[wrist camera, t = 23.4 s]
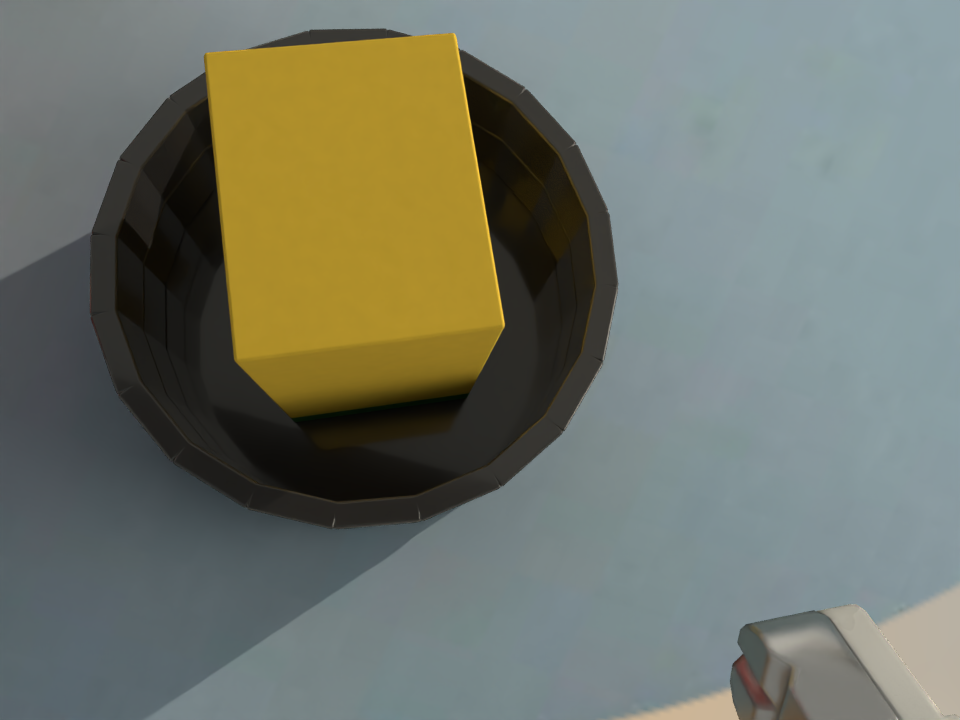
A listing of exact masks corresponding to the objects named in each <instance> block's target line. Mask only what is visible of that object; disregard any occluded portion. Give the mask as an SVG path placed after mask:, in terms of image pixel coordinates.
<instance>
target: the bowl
mask: <svg viewBox="0 0 960 720" xmlns="http://www.w3.org/2000/svg"><path fill="white" fill-rule="evenodd" d="M410 36H411V35H407V34H404V33H400V32H396V31H392V30H386V29H327V30H310V31H305V32H302V33H298V34H295V35H292V36H288V37H285V38H282V39H279V40H275V41H272V42H269V43H265V44H262V45H259V46H256V47H252V48H249V49H260V48H273V47H285V46H298V45H310V44H323V43H335V42H348V41H360V40H373V39H385V38H398V37H410ZM246 50H248V49H246ZM458 50H459V56H460V62H461V68H462V74H463V80H464V86H465V92H466V97H467V103H468V109H469V115H470V121H471V127H472V133H473V139H474V145H475V151H476V157H477V163H478V168H479V174H480V180H481V186H482V192H483V198H484V204H485V210H486V216H487V222H488V228H489V234H490V240H491V245H492V251H493V257H494V263H495V269H496V275H497V281H498V287H499V293H500V299H501V305H502V311H503V316H504V322H505V326H504V328H503V330H502V332H501V334H500V336H499V338H498V340H497V342H496V344H495V346H494V347H493V349H492V351H491V353H490V355H489V357H488V359H487V361H486V363H485V365H484V366H483V368H482V370H481V372H480V374H479V376H478V378H477V380H476V382H475V383H474V385H473V387H472V389H471V391H470V393H469V395H468V397H467V398H463V399H456V400H449V401H442V402H435V403H428V404H421V405H414V406H407V407H400V408H392V409H385V410H378V411H371V412H364V413H357V414H350V415H343V416H336V417H329V418H322V419H315V420H308V421H300V422H294V421H293V420H292V419H291V418H290V417H289V416H288V415H287V414H286V413H285V412H284V411H283V410H282V409H281V408H280V407H279V406H278V405H277V404H276V403H275V402H274V401H273V400H272V399H271V398H270V397H269V396H268V395H267V394H266V393H265V391H264V390H263V389H262V388H261V387H260V386H259V385H258V384H257V383H256V382H255V381H254V380H253V379H252V378H251V377H250V376H249V375H248V374H247V373H246V372H245V371H244V370H243V369H242V368H241V367H240V366H239V365H238V364H237V363H236V362H235V360H234V353H233V343H232V333H231V323H230V313H229V303H228V293H227V283H226V273H225V263H224V253H223V243H222V233H221V223H220V213H219V203H218V193H217V183H216V173H215V163H214V153H213V143H212V133H211V123H210V113H209V103H208V93H207V83H206V73H203V74H202V75H200V76H199V77H197V78H196V79H194V80H193V81H191V82H190V83H188V84H187V85H185V86H184V87H182V88H181V89H179V90H178V91H176V92H175V93H173V94H172V95H170V97H169V98H170V99H169V98H167V99H166V100H165V101H164V103H163V104H162V105H161V106H160V108H159V109H158V110H157V111H156V113H155V114H154V115H153V116H152V118H151V119H150V120H149V121H148V123H147V124H146V125H145V126H144V128H143V129H142V130H141V131H140V133H139V134H138V135H137V136H136V138H135V139H134V140H133V141H132V142H131V144H130V145H129V146H128V147H127V149H126V150H125V151H124V152H123V154H122V155H121V156H120V160H118V161H117V164H116V167H115V169H114V172H113V175H112V178H111V180H110V183H109V186H108V189H107V191H106V194H105V197H104V199H103V202H102V205H101V208H100V210H99V213H98V216H97V219H96V221H95V224H94V227H93V229H92V235H91V251H90V315H91V321H92V324H93V327H94V330H95V333H96V336H97V339H98V341H99V344H100V347H101V350H102V353H103V356H104V359H105V362H106V364H107V367H108V370H109V373H110V376H111V379H112V382H113V385H114V387H115V390H116V393H117V394H119V398H120V399H121V401H122V402H123V403H124V404H125V406H126V407H127V408H128V409H129V411H130V412H131V413H132V414H133V415H134V417H135V418H136V419H137V420H138V422H139V423H140V424H141V425H142V427H143V428H144V429H145V430H146V432H147V433H148V434H149V435H150V437H151V438H152V439H153V440H154V441H155V443H156V444H157V445H158V446H159V448H160V449H161V450H162V451H163V453H164V454H165V455H166V456H167V458H168V459H169V460H171V461H173V463H174V464H175V465H176V466H178V467H180V468H181V469H183V470H184V471H186V472H188V473H189V474H191V475H193V476H194V477H196V478H197V479H199V480H201V481H202V482H204V483H205V484H207V485H209V486H210V487H212V488H213V489H215V490H217V491H218V492H220V493H221V494H223V495H225V496H226V497H228V498H230V499H231V500H233V501H234V502H236V503H238V504H239V505H241V506H242V507H245V508H247V509H249V510H253V511H257V512H261V513H265V514H270V515H274V516H278V517H282V518H287V519H291V520H295V521H299V522H304V523H308V524H312V525H316V526H321V527H325V528H329V529H351V528H362V527H374V526H385V525H396V524H408V523H417V522H421V521H425V520H427V519H429V518H432V517H434V516H436V515H439V514H441V513H443V512H446V511H448V510H450V509H453V508H455V507H457V506H460V505H462V504H464V503H467V502H469V501H471V500H474V499H476V498H478V497H481V496H483V495H485V494H488V493H490V492H492V491H494V490H497V489H499V488H500V487H501V486H504V485H505V484H506V483H507V482H508V481H509V480H510V479H512V478H513V477H514V476H515V475H516V474H517V473H518V472H520V471H521V470H522V469H523V468H524V467H525V466H526V465H527V464H529V463H530V462H531V461H532V460H533V459H534V458H535V457H536V456H538V455H539V454H540V453H541V452H542V451H543V450H544V449H545V448H547V447H548V446H549V445H550V444H551V443H552V442H553V441H555V440H556V439H557V438H558V437H559V436H560V435H561V434H562V433H563V431H565V429H566V428H567V426H568V424H569V423H570V421H571V419H572V417H573V416H574V414H575V412H576V410H577V409H578V407H579V405H580V403H581V402H582V400H583V398H584V396H585V395H586V393H587V391H588V389H589V388H590V386H591V384H592V383H593V381H594V379H595V377H596V376H597V374H598V372H599V370H600V369H601V367H602V365H603V361H604V359H605V354H606V349H607V343H608V338H609V333H610V328H611V323H612V318H613V313H614V308H615V303H616V298H617V293H618V277H617V270H616V262H615V254H614V246H613V238H612V230H611V222H610V215H609V213H608V209H607V206H606V204H605V202H604V200H603V198H602V196H601V194H600V192H599V189H598V187H597V185H596V183H595V181H594V179H593V177H592V175H591V172H590V170H589V168H588V166H587V164H586V162H585V160H584V158H583V155H582V153H581V151H580V149H579V147H578V145H576V142H575V141H574V140H573V139H572V138H571V137H570V135H569V134H568V133H567V132H566V131H565V130H564V129H563V128H562V127H561V126H560V125H559V123H558V122H557V121H556V120H555V119H554V118H553V117H552V116H551V115H550V114H549V112H548V111H547V110H546V109H545V108H544V107H543V106H542V105H541V104H540V103H539V102H538V100H537V99H536V98H535V97H534V96H533V95H532V94H531V93H530V92H529V91H528V90H527V89H526V90H525V87H524V86H522V85H520V84H519V83H517V82H515V81H514V80H512V79H510V78H509V77H507V76H505V75H504V74H502V73H500V72H499V71H497V70H495V69H494V68H492V67H490V66H489V65H487V64H485V63H484V62H482V61H480V60H479V59H477V58H475V57H474V56H472V55H470V54H469V53H467V52H466V51H464V50H461V51H460V49H459V48H458Z"/></svg>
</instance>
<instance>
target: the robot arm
mask: <svg viewBox="0 0 960 720" xmlns="http://www.w3.org/2000/svg"><path fill="white" fill-rule="evenodd" d="M737 643H738V645H739V646H740V648H741V650H742V652H743V654H742V655H741V656H740V657H739V658H738V659H737V660H736V661H735V662H734V663H733V665H732V671H731V677H730V685H731V691H732V698H733V703H734V706H735V708H736V711H737V715H738V717H739V720H960V717H959V716H957V715H948V716H944V715H943V714H942V713H941V711H940V710H939V709H938V707H937V706H936V705H935V703H934V702H933V701H932V699H931V698H930V697H929V695H928V694H927V693H926V691H925V690H924V689H923V687H922V686H921V685H920V683H919V682H918V681H917V679H916V678H915V677H914V675H913V674H912V673H911V671H910V670H909V668H908V667H907V666H906V664H905V663H904V662H903V660H902V659H901V658H900V656H899V655H898V654H897V652H896V651H895V650H894V648H893V647H892V646H891V644H890V643H889V642H888V640H887V639H886V638H885V636H884V635H883V634H882V632H881V631H880V630H879V628H878V627H877V626H876V624H875V623H874V622H873V620H872V619H871V618H870V616H869V615H868V613H867V612H866V611H865V610H864V609H862V608H861V607H859V606H858V605H851V604H848V605H843V606H839V607H834V608H829V609H824V610H819V611H815V610H813V611H808V612H803V613H798V614H794V615H789V616H784V617H779V618H774V619H769V620H764V621H759V622H755V623H750V624H746V625H745V626H744V627H743V628H742V629H740V633H739V637H738V642H737Z"/></svg>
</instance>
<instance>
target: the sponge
mask: <svg viewBox="0 0 960 720" xmlns="http://www.w3.org/2000/svg"><path fill="white" fill-rule="evenodd" d="M204 63H205V73H206V83H207V93H208V103H209V113H210V123H211V133H212V143H213V153H214V163H215V173H216V183H217V193H218V203H219V213H220V223H221V233H222V243H223V253H224V263H225V273H226V283H227V293H228V303H229V313H230V323H231V333H232V343H233V353H234V360H235V362H236V363H237V364H238V365H239V366H240V367H241V368H242V369H243V370H244V371H245V372H246V373H247V374H248V375H249V376H250V377H251V378H252V379H253V380H254V381H255V382H256V383H257V384H258V385H259V386H260V387H261V388H262V389H263V390H264V391H265V393H266V394H267V395H268V396H269V397H270V398H271V399H272V400H273V401H274V402H275V403H276V404H277V405H278V406H279V407H280V408H281V409H282V410H283V411H284V412H285V413H286V414H287V415H288V416H289V417H290V418H291V419H292V420H293V421H294V422H300V421H308V420H315V419H322V418H329V417H336V416H343V415H350V414H357V413H364V412H371V411H378V410H385V409H392V408H400V407H407V406H414V405H421V404H428V403H435V402H442V401H449V400H456V399H463V398H467V397H468V395H469V393H470V391H471V389H472V387H473V385H474V383H475V382H476V380H477V378H478V376H479V374H480V372H481V370H482V368H483V366H484V365H485V363H486V361H487V359H488V357H489V355H490V353H491V351H492V349H493V347H494V346H495V344H496V342H497V340H498V338H499V336H500V334H501V332H502V330H503V328H504V326H505V322H504V316H503V311H502V305H501V299H500V293H499V287H498V281H497V275H496V269H495V263H494V257H493V251H492V245H491V240H490V234H489V228H488V222H487V216H486V210H485V204H484V198H483V192H482V186H481V180H480V174H479V168H478V163H477V157H476V151H475V145H474V139H473V133H472V127H471V121H470V115H469V109H468V103H467V97H466V92H465V86H464V80H463V74H462V68H461V62H460V56H459V50H458V44H457V38H456V35H455V34H454V33H448V34H435V35H423V36H410V37H398V38H385V39H373V40H360V41H348V42H335V43H323V44H310V45H298V46H285V47H273V48H260V49H248V50H235V51H223V52H210V53H205V55H204Z"/></svg>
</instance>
